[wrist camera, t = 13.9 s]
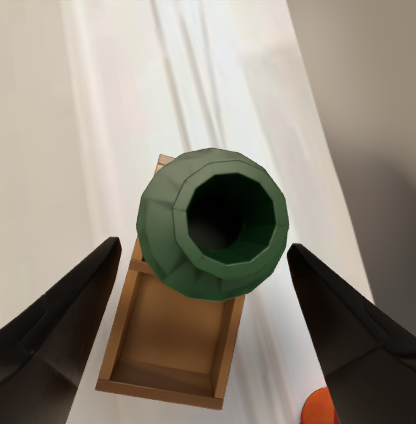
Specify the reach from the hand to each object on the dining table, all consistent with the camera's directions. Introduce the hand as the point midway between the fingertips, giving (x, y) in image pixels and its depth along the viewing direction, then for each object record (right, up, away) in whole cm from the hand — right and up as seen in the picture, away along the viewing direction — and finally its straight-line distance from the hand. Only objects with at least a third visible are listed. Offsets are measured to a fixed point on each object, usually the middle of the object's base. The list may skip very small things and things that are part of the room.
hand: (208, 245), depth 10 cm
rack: (-2, -4, +8) cm, 9 cm away
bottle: (-1, 0, +8) cm, 8 cm away
